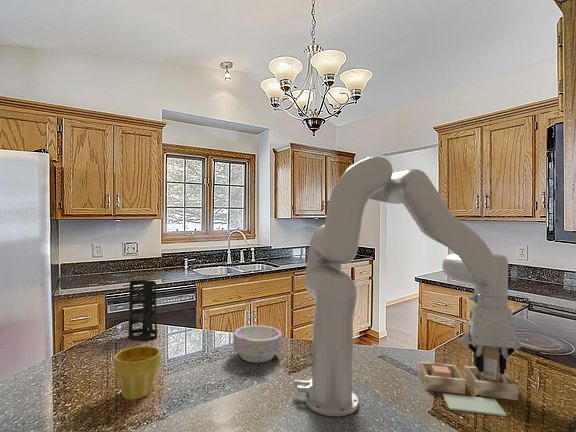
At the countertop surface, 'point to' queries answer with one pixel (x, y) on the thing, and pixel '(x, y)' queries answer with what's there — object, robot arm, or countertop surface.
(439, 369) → the terracotta cube
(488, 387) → the box
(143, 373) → the plant pot
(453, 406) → the mat
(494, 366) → the sprinkles bottle
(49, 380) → the countertop surface
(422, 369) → the box
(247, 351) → the white bowl
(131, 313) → the holder
